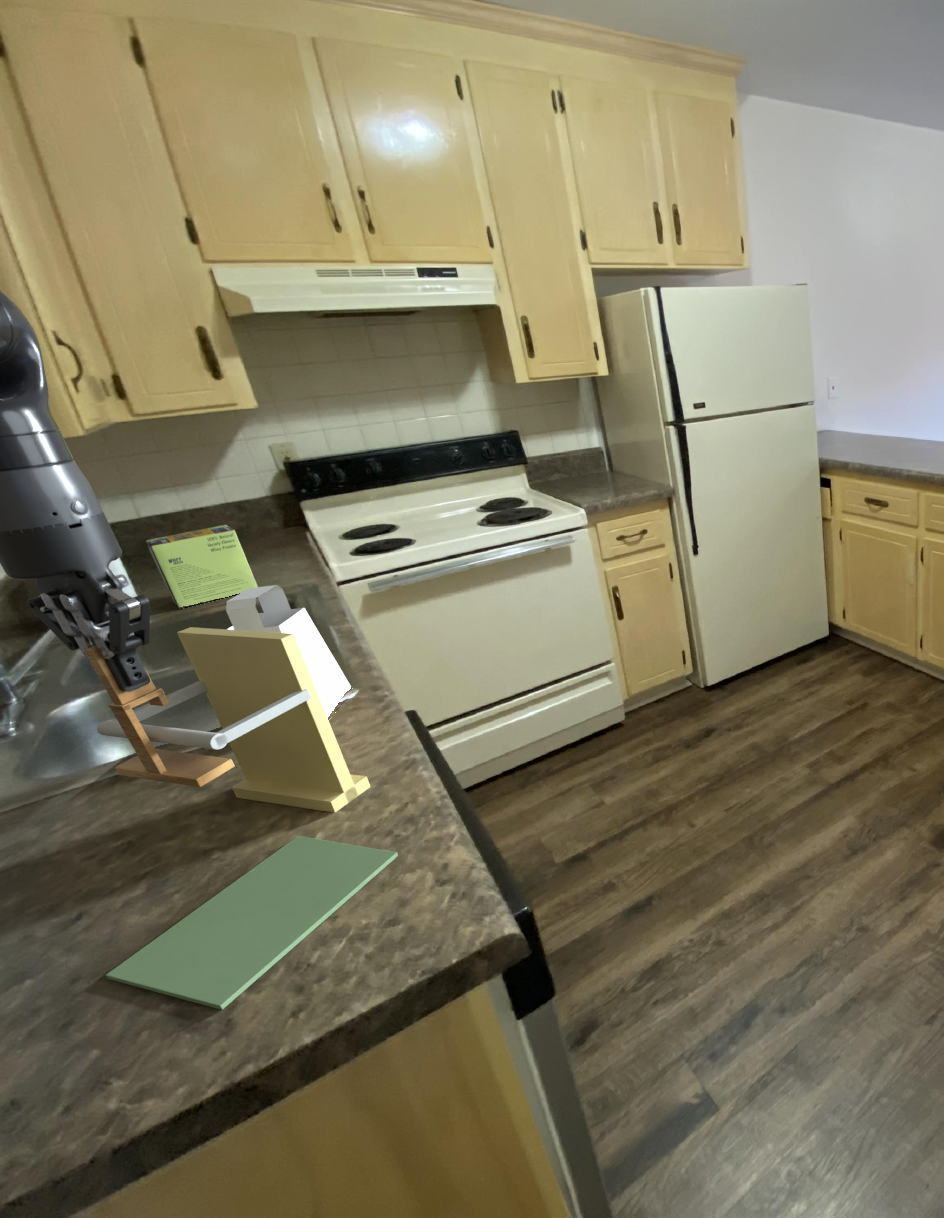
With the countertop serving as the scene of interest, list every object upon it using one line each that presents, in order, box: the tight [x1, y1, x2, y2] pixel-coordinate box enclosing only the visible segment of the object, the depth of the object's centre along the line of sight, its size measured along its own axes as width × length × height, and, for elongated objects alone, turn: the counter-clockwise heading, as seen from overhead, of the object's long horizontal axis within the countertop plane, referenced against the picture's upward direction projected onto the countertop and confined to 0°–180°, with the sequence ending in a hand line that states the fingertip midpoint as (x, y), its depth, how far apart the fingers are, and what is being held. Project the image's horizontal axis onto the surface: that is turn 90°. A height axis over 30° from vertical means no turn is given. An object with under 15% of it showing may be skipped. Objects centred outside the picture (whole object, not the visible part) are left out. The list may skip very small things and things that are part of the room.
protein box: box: [144, 524, 259, 608], centre depth 159 cm, size 10×15×16 cm
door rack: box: [96, 626, 371, 814], centre depth 75 cm, size 13×17×22 cm
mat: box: [105, 835, 399, 1011], centre depth 65 cm, size 14×18×1 cm
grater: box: [225, 584, 352, 718], centre depth 99 cm, size 10×10×20 cm
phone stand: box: [84, 640, 236, 788], centre depth 67 cm, size 4×12×15 cm, turn 75°
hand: (130, 686), depth 66 cm, fingers closed on phone stand, 1 cm apart
